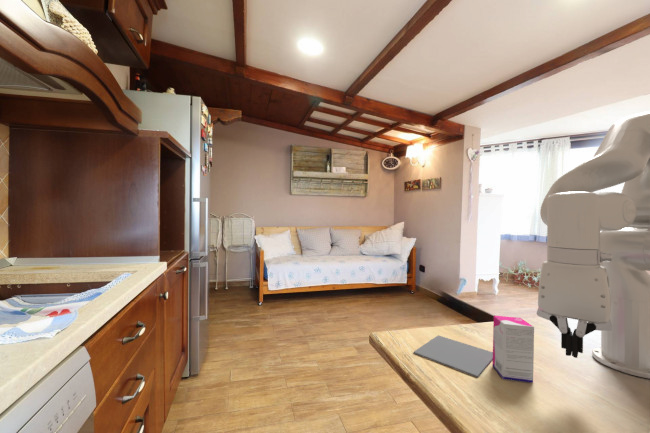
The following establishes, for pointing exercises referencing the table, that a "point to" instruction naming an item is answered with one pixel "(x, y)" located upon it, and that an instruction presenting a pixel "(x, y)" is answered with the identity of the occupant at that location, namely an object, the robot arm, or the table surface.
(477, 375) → the mat
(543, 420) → the table surface
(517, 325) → the supplement box
